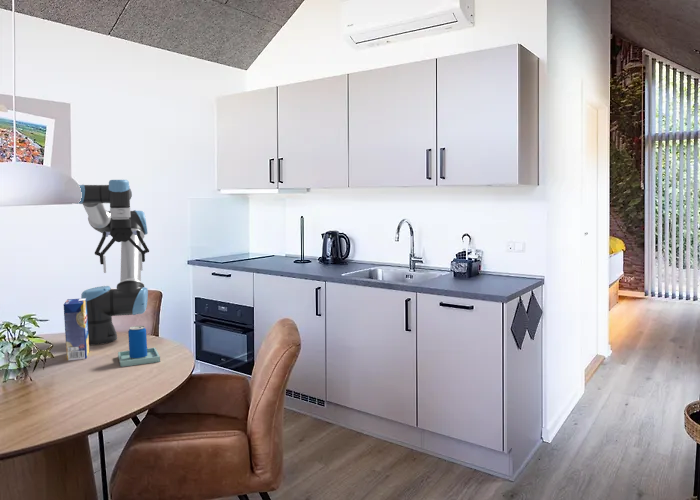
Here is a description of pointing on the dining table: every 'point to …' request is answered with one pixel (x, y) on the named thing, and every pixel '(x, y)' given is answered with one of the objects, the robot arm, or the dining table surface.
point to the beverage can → (137, 342)
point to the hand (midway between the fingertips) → (123, 271)
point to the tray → (127, 361)
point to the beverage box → (76, 329)
